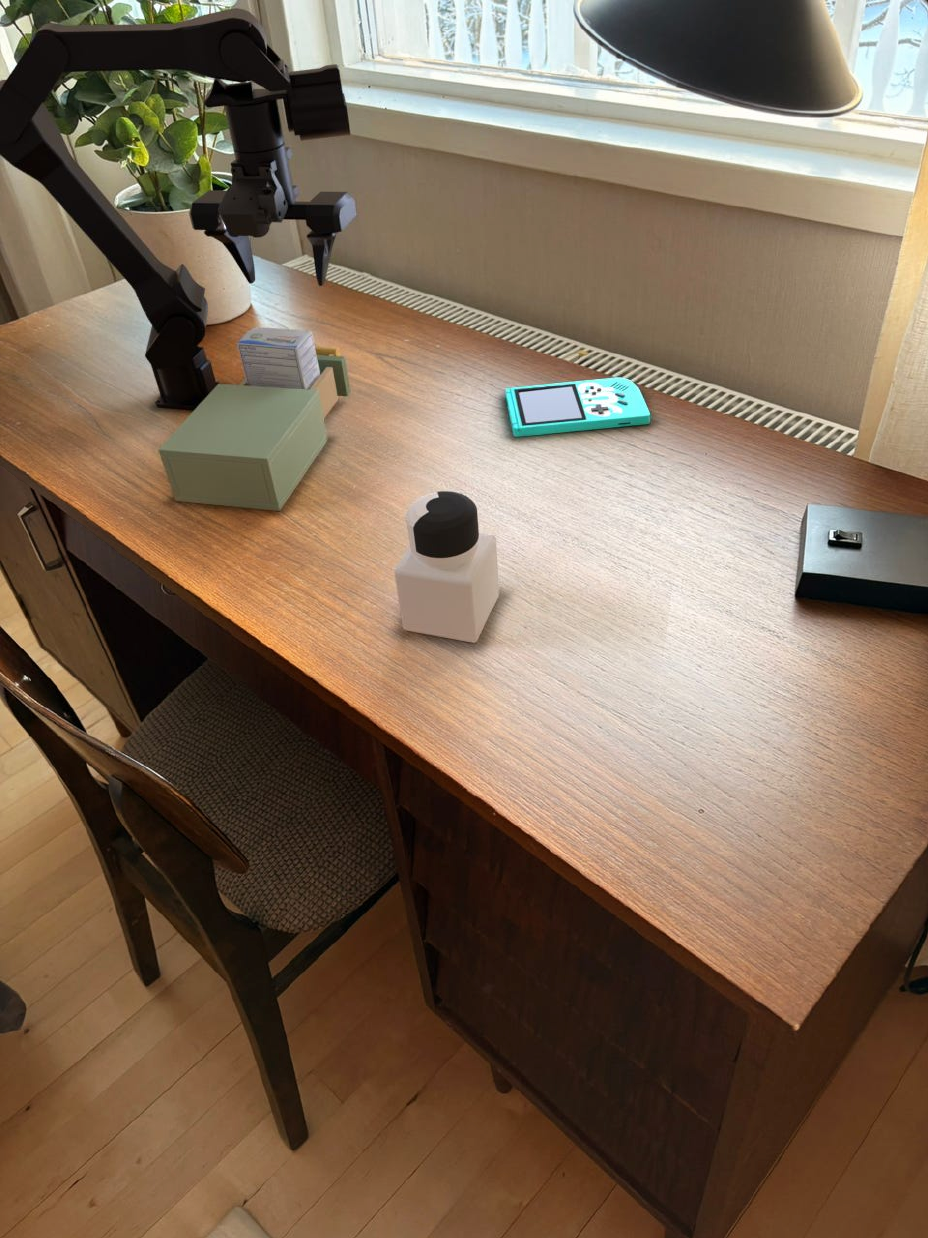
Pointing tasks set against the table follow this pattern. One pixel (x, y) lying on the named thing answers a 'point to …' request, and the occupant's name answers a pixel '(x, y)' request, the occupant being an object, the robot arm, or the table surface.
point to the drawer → (328, 377)
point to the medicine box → (279, 358)
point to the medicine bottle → (447, 569)
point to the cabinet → (245, 446)
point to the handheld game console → (575, 406)
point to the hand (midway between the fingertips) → (286, 283)
